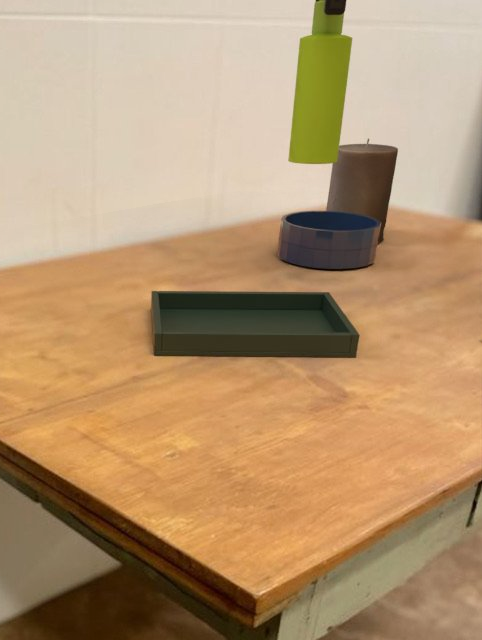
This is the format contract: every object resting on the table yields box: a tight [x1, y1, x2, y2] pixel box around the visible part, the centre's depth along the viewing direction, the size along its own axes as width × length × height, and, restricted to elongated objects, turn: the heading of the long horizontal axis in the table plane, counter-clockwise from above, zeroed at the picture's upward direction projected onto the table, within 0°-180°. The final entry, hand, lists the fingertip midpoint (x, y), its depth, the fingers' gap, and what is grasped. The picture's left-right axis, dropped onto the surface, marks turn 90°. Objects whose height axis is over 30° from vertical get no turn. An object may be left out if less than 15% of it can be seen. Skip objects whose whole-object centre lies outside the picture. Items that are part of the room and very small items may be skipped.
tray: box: [150, 290, 360, 358], centre depth 93 cm, size 22×16×2 cm
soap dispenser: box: [288, 0, 353, 165], centre depth 95 cm, size 6×7×20 cm
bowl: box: [276, 210, 381, 270], centre depth 121 cm, size 14×14×6 cm
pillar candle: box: [325, 138, 399, 244], centre depth 129 cm, size 10×10×15 cm
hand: (328, 14), depth 91 cm, fingers closed on soap dispenser, 5 cm apart
